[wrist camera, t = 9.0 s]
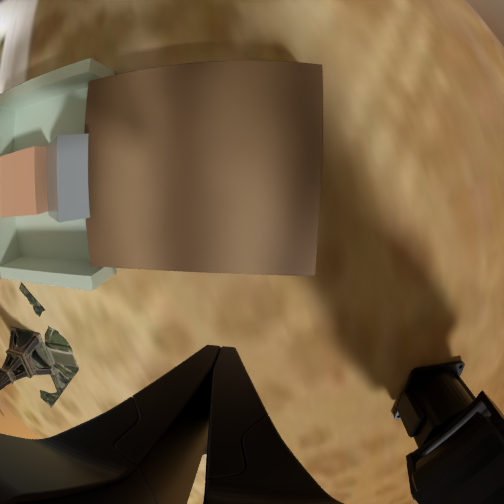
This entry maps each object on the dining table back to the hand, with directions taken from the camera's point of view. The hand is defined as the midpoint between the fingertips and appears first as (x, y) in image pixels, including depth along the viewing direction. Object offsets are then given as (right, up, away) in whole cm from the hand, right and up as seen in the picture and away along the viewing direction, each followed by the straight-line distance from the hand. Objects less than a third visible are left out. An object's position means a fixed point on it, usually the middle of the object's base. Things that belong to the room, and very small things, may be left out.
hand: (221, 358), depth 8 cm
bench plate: (-2, +9, +10) cm, 13 cm away
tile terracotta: (-17, +8, +8) cm, 20 cm away
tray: (-15, +9, +10) cm, 20 cm away
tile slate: (-10, +8, +8) cm, 15 cm away
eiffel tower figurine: (-23, -8, +16) cm, 29 cm away
